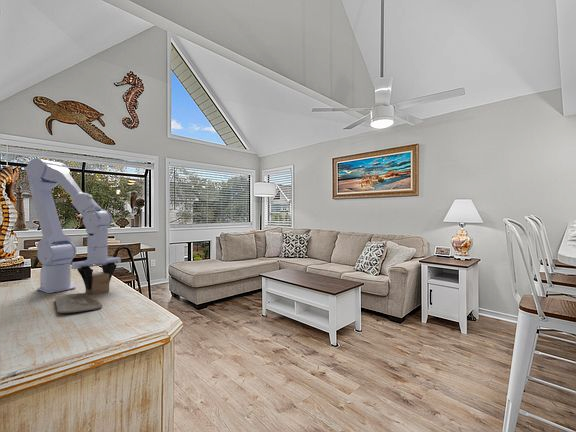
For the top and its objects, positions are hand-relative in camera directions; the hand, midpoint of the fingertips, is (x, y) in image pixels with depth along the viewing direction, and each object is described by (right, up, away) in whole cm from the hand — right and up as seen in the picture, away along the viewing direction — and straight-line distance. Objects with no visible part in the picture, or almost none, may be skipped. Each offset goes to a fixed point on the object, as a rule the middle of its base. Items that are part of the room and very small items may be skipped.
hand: (97, 287), depth 100 cm
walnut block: (0, -1, 0) cm, 1 cm away
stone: (+3, -2, -14) cm, 15 cm away
